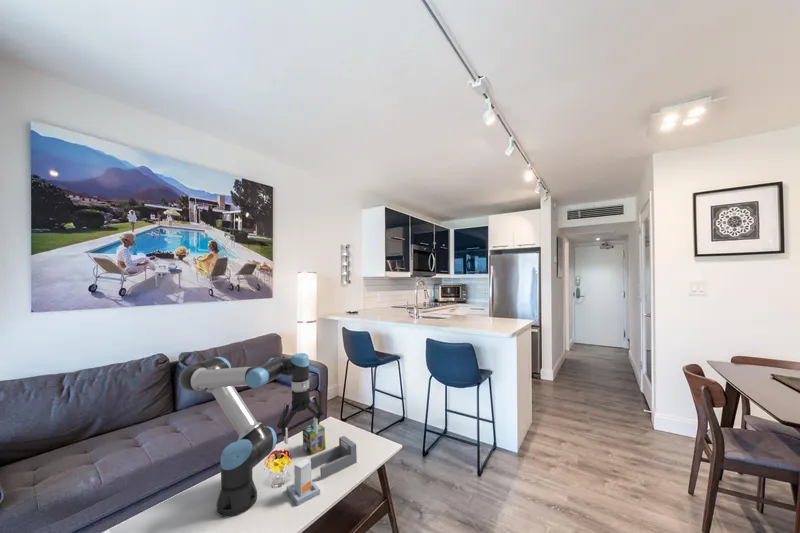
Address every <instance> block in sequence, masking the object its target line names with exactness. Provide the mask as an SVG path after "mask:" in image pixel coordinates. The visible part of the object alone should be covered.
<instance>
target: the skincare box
mask: <svg viewBox="0 0 800 533" xmlns="http://www.w3.org/2000/svg"><path fill="white" fill-rule="evenodd" d="M293 472H294V483H295V493H296V494H298V495H299V496H302V495H303V494H304V493H306V492H307V491H308V490H310V489H311V480H312V469H311V459H310V460H309V459H307V458H304V459H302V460H300V461H299V462H297V463H296V464H294V470H293Z"/></svg>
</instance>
